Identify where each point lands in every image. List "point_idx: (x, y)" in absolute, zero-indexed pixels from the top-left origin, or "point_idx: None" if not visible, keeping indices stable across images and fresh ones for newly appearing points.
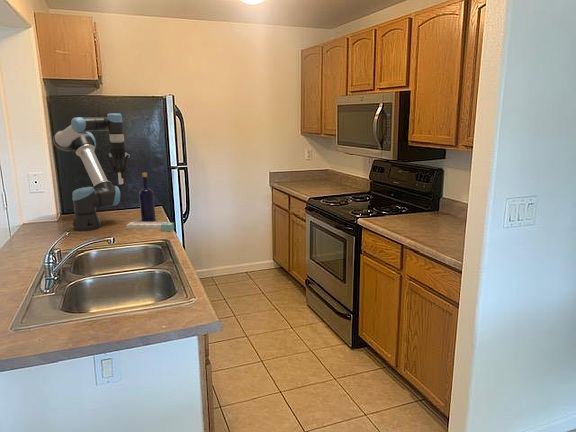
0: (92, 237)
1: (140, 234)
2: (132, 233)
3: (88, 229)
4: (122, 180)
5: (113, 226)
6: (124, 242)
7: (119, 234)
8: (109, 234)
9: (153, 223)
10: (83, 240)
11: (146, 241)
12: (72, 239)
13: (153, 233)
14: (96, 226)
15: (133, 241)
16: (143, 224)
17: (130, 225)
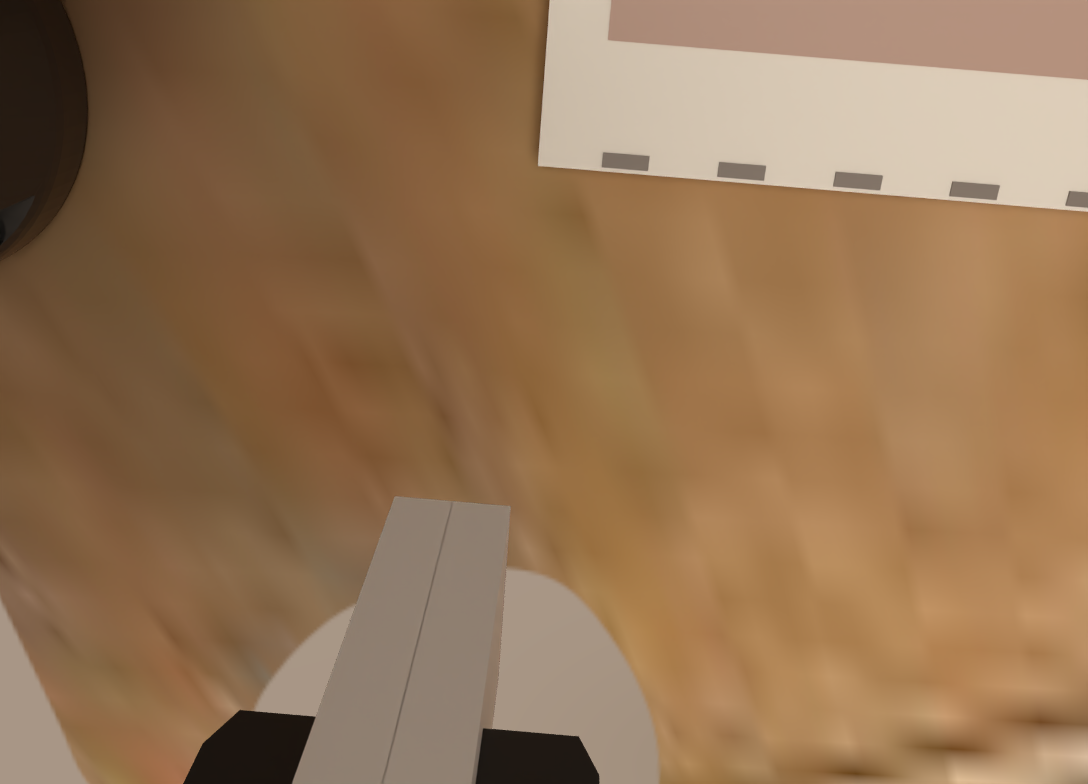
0: (268, 574)
1: (842, 484)
2: (719, 433)
3: (6, 256)
4: (493, 669)
5: (271, 8)
6: (730, 768)
7: (556, 469)
8: (420, 461)
9: (993, 72)
10: (229, 676)
11: (972, 752)
12: (76, 634)
13: (1015, 449)
14: (63, 170)
15: (822, 743)
16: (826, 138)
17: (613, 170)
